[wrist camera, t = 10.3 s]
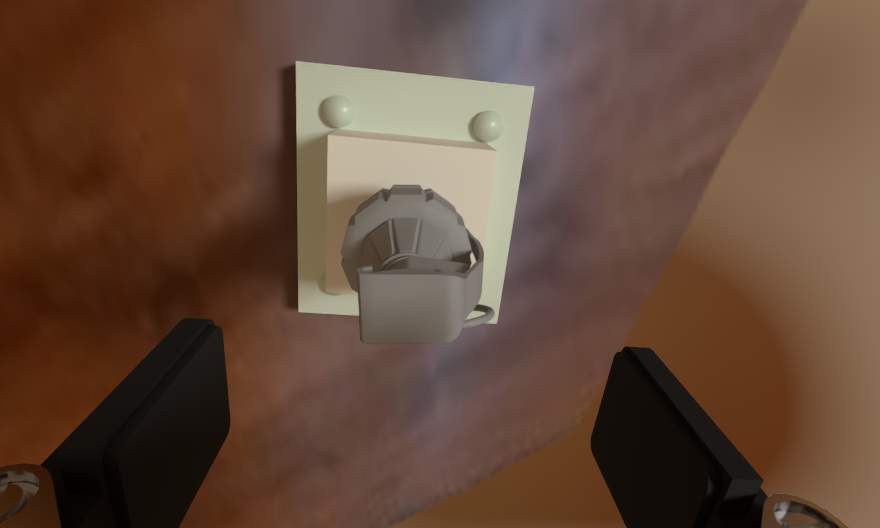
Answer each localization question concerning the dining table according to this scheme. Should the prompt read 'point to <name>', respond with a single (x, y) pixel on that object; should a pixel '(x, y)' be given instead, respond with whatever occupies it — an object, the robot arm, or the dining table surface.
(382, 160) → the cream brick
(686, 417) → the robot arm
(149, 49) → the dining table surface
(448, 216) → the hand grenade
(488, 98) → the base plate
